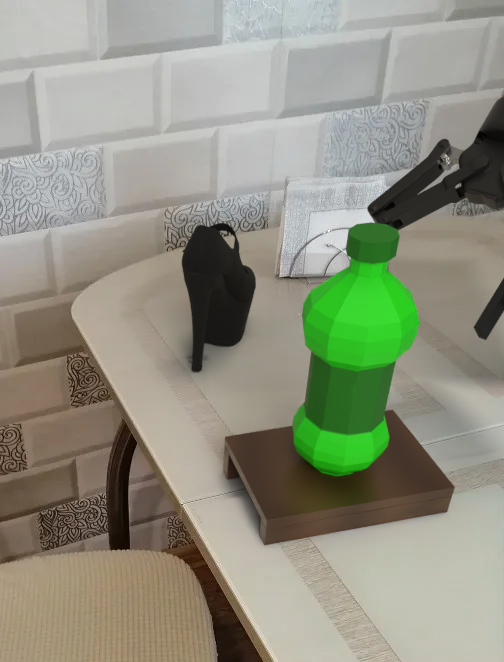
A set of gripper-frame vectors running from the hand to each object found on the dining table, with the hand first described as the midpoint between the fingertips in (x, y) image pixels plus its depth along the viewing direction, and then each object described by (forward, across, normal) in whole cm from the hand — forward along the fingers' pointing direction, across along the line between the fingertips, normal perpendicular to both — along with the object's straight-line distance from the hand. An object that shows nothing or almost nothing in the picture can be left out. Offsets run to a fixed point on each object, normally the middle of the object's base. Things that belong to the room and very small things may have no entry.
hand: (416, 310), depth 79 cm
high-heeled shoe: (+10, -31, +17) cm, 37 cm away
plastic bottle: (+17, -1, +3) cm, 17 cm away
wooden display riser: (+20, -1, +7) cm, 21 cm away
